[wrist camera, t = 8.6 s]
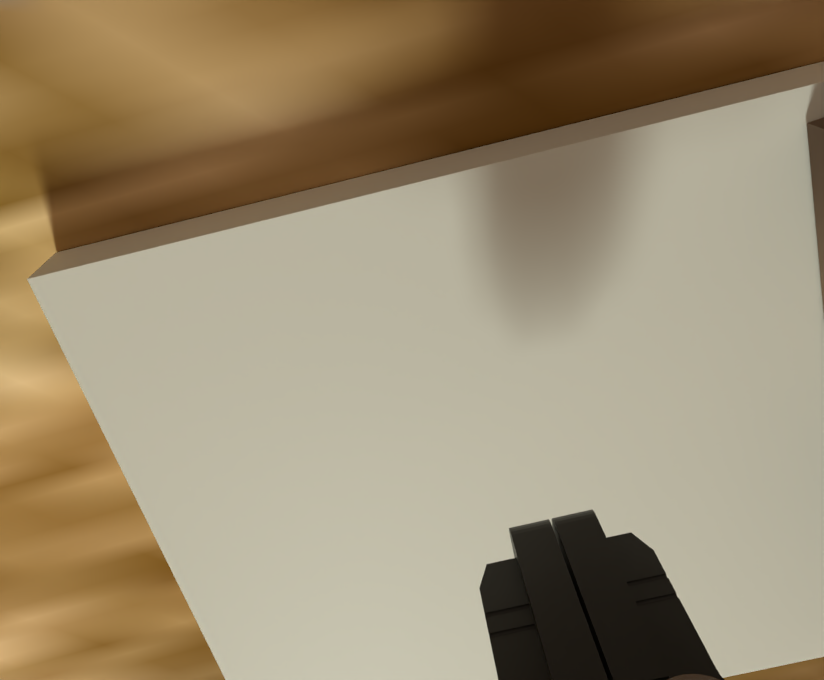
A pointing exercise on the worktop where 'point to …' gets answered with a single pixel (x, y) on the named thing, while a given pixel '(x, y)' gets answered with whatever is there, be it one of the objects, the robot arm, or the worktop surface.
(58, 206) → the worktop surface
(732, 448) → the stool seat
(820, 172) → the folding leg
